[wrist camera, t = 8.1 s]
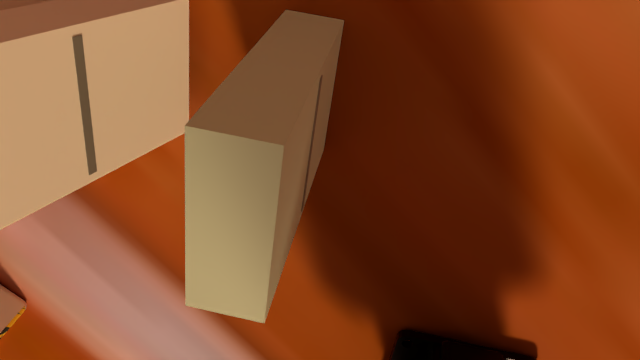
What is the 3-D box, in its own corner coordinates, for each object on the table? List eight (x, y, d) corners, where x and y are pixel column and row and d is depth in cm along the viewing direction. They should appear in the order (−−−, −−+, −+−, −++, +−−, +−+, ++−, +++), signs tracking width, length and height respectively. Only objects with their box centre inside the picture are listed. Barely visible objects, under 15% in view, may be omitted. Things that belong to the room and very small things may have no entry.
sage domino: (345, 20, 18) (285, 145, 10) (324, 149, 21) (265, 323, 13) (285, 9, 18) (183, 125, 11) (272, 138, 21) (184, 305, 13)
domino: (189, -3, 18) (-110, 70, 11) (189, 131, 20) (-50, 257, 14) (142, -18, 18) (-167, 41, 12) (148, 113, 21) (-99, 225, 14)
